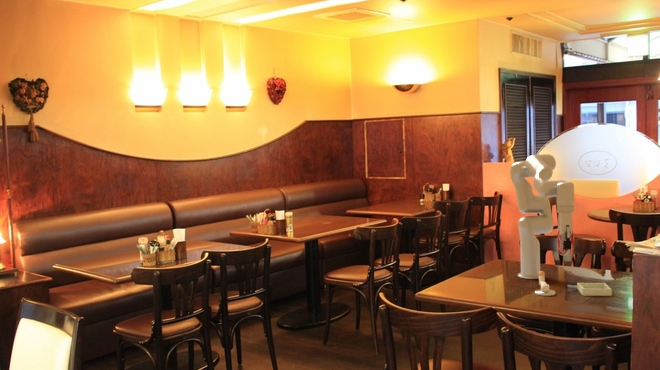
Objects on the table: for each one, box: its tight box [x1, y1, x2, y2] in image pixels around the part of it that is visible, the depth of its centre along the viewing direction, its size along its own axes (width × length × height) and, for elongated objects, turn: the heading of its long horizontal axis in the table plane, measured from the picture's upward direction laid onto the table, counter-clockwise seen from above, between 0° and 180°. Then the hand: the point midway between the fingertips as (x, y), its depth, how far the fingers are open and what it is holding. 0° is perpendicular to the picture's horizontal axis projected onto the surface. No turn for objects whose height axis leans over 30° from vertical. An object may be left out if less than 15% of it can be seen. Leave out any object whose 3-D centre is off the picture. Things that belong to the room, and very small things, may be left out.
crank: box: [538, 270, 550, 292], centre depth 299 cm, size 4×13×7 cm, turn 170°
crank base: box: [534, 288, 556, 297], centre depth 294 cm, size 9×9×1 cm
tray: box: [576, 282, 613, 297], centre depth 293 cm, size 12×12×3 cm
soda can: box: [557, 229, 575, 256], centre depth 291 cm, size 7×7×12 cm
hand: (565, 247), depth 291 cm, fingers closed on soda can, 6 cm apart
